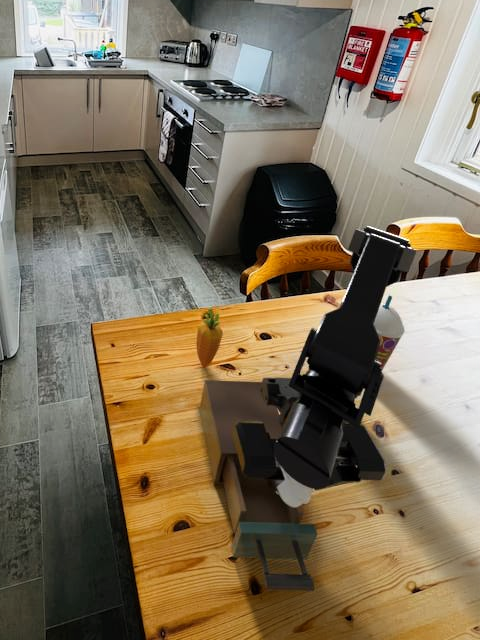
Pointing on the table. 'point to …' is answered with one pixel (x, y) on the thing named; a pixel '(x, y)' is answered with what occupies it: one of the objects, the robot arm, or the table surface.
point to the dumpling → (293, 491)
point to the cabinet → (231, 418)
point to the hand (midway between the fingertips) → (292, 485)
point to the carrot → (208, 338)
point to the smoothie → (387, 331)
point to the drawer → (267, 527)
